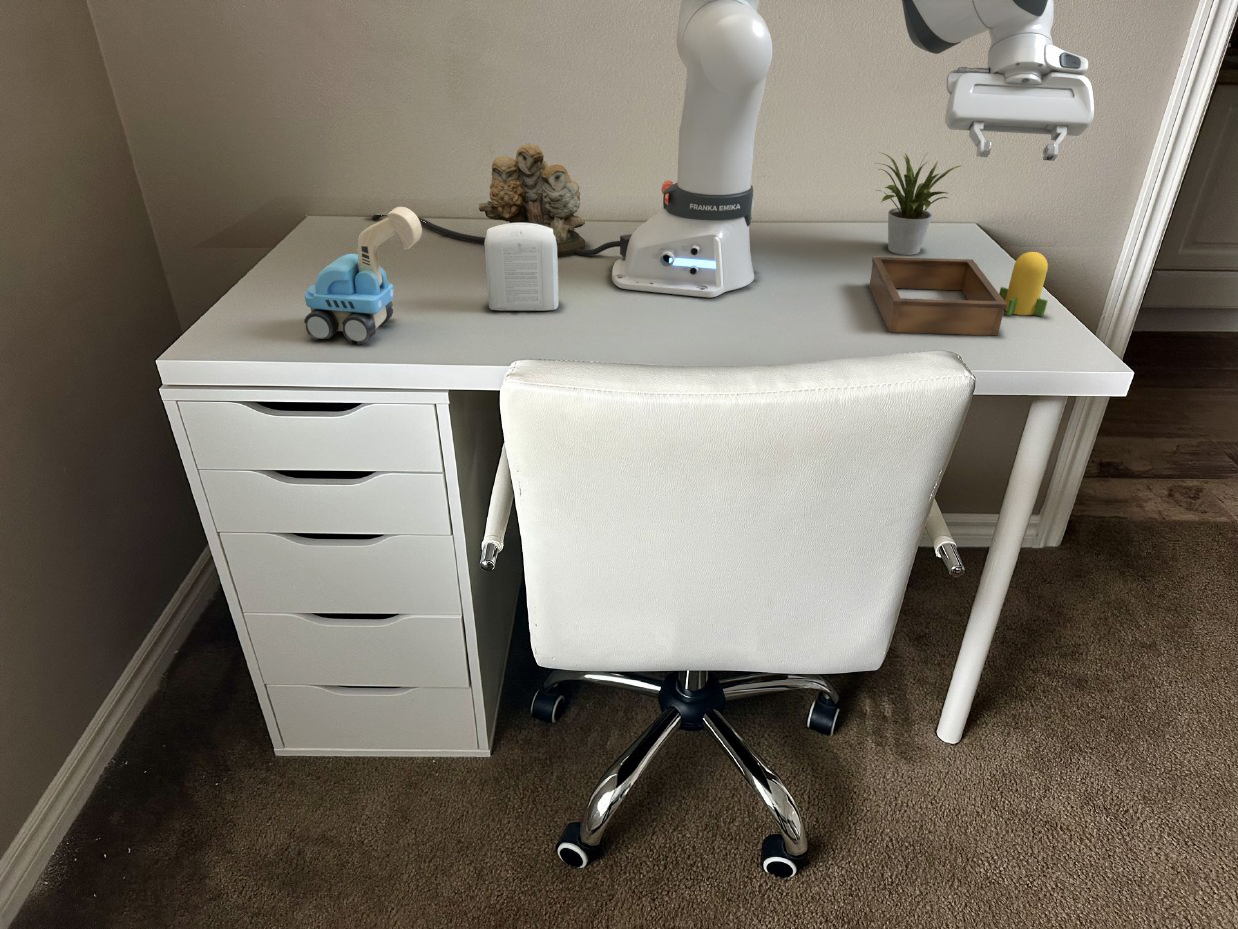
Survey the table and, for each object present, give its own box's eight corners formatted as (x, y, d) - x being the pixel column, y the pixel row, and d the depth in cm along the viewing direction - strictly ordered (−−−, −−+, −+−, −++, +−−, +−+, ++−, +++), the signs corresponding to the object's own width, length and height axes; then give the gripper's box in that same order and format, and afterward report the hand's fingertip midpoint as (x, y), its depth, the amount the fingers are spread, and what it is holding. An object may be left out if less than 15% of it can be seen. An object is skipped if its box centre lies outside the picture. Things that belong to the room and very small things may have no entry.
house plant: (837, 247, 151) (850, 149, 142) (882, 230, 159) (897, 136, 150) (909, 268, 142) (928, 165, 133) (954, 249, 150) (975, 150, 141)
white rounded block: (559, 301, 130) (556, 218, 124) (559, 312, 127) (555, 227, 120) (490, 302, 130) (483, 219, 123) (487, 313, 126) (480, 228, 120)
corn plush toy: (1006, 315, 125) (1021, 258, 121) (996, 302, 130) (1010, 246, 125) (1043, 317, 125) (1059, 259, 120) (1032, 303, 129) (1047, 247, 125)
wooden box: (888, 332, 120) (893, 301, 118) (867, 285, 136) (872, 256, 133) (999, 336, 119) (1007, 304, 117) (966, 288, 134) (972, 259, 132)
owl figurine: (476, 257, 147) (467, 152, 137) (488, 235, 156) (479, 135, 147) (583, 259, 146) (581, 153, 137) (588, 236, 156) (586, 136, 147)
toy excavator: (418, 349, 116) (400, 221, 107) (301, 340, 118) (274, 214, 109) (440, 324, 123) (426, 201, 114) (329, 316, 125) (306, 195, 116)
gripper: (953, 53, 127) (950, 141, 125) (1100, 60, 126) (1098, 149, 123) (941, 79, 134) (937, 163, 131) (1080, 85, 132) (1078, 171, 130)
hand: (1016, 156), depth 127 cm, fingers open, 8 cm apart
